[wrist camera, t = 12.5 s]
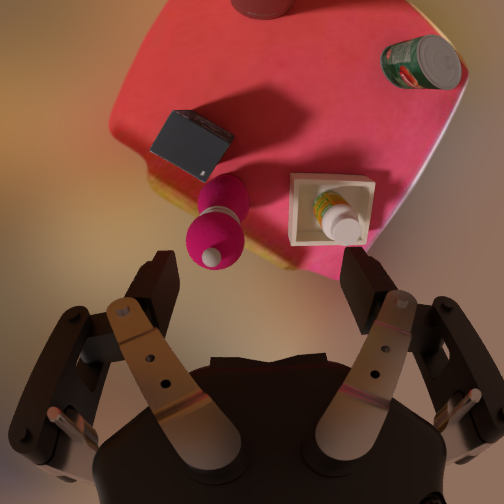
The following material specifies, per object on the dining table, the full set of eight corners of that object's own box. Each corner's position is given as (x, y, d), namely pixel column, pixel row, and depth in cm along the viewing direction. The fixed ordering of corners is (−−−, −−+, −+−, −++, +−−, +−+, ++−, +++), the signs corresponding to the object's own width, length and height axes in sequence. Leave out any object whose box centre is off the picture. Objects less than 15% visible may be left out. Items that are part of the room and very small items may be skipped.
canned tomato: (386, 90, 33) (425, 89, 24) (374, 44, 29) (410, 31, 20) (424, 88, 32) (466, 90, 23) (413, 45, 29) (453, 37, 19)
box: (235, 135, 37) (231, 144, 28) (214, 166, 40) (204, 185, 31) (190, 108, 35) (171, 108, 26) (171, 140, 37) (147, 151, 28)
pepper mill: (199, 174, 40) (162, 230, 23) (246, 168, 40) (246, 220, 23) (206, 217, 44) (181, 296, 26) (251, 212, 44) (254, 291, 26)
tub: (290, 172, 40) (294, 179, 37) (365, 175, 40) (375, 182, 37) (287, 234, 45) (291, 245, 42) (357, 233, 46) (365, 244, 42)
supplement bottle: (317, 185, 41) (336, 208, 32) (348, 194, 41) (372, 218, 33) (307, 217, 43) (321, 246, 35) (337, 224, 44) (357, 254, 36)
